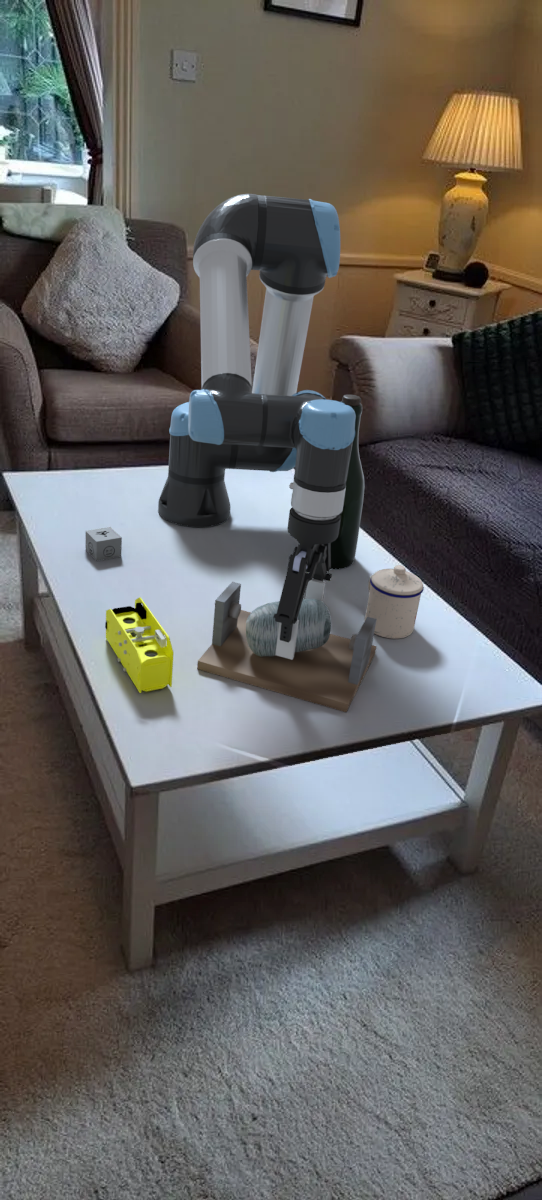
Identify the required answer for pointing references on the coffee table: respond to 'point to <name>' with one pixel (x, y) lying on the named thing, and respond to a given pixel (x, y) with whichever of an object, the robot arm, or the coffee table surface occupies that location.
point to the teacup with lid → (394, 601)
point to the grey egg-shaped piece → (309, 633)
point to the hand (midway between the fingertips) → (298, 635)
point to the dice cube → (103, 543)
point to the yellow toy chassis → (140, 645)
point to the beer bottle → (350, 499)
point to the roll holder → (308, 676)
